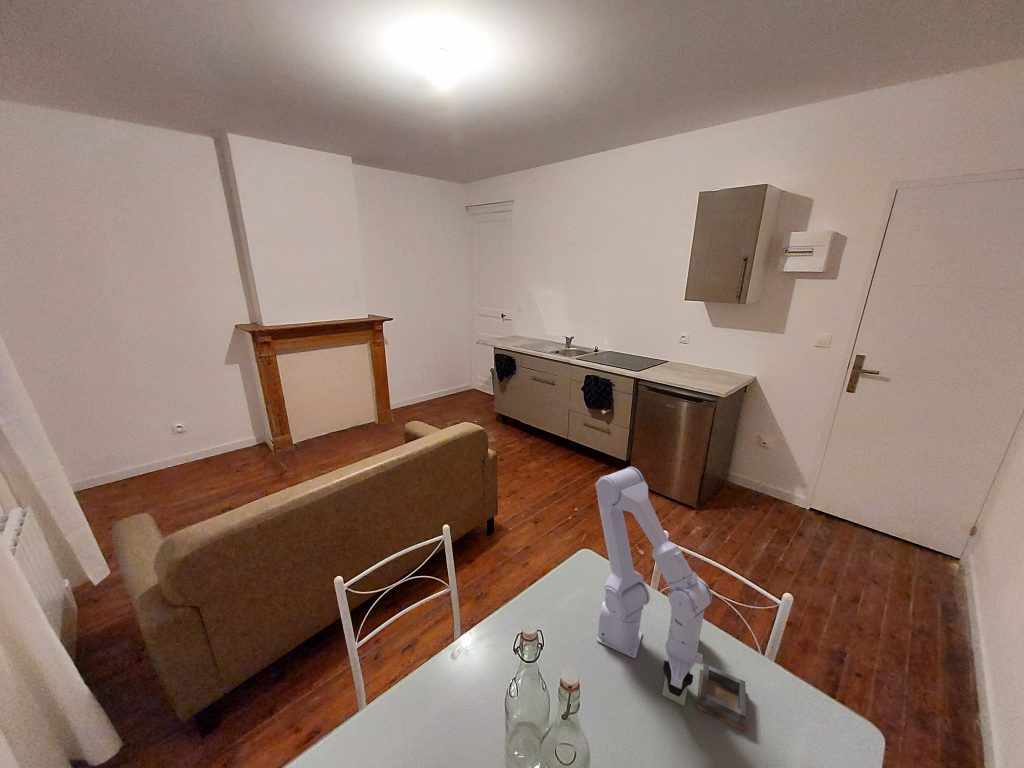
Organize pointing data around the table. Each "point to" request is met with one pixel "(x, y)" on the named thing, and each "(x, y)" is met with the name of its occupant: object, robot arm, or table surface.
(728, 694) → the grey square socket
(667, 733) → the table surface
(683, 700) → the peg
